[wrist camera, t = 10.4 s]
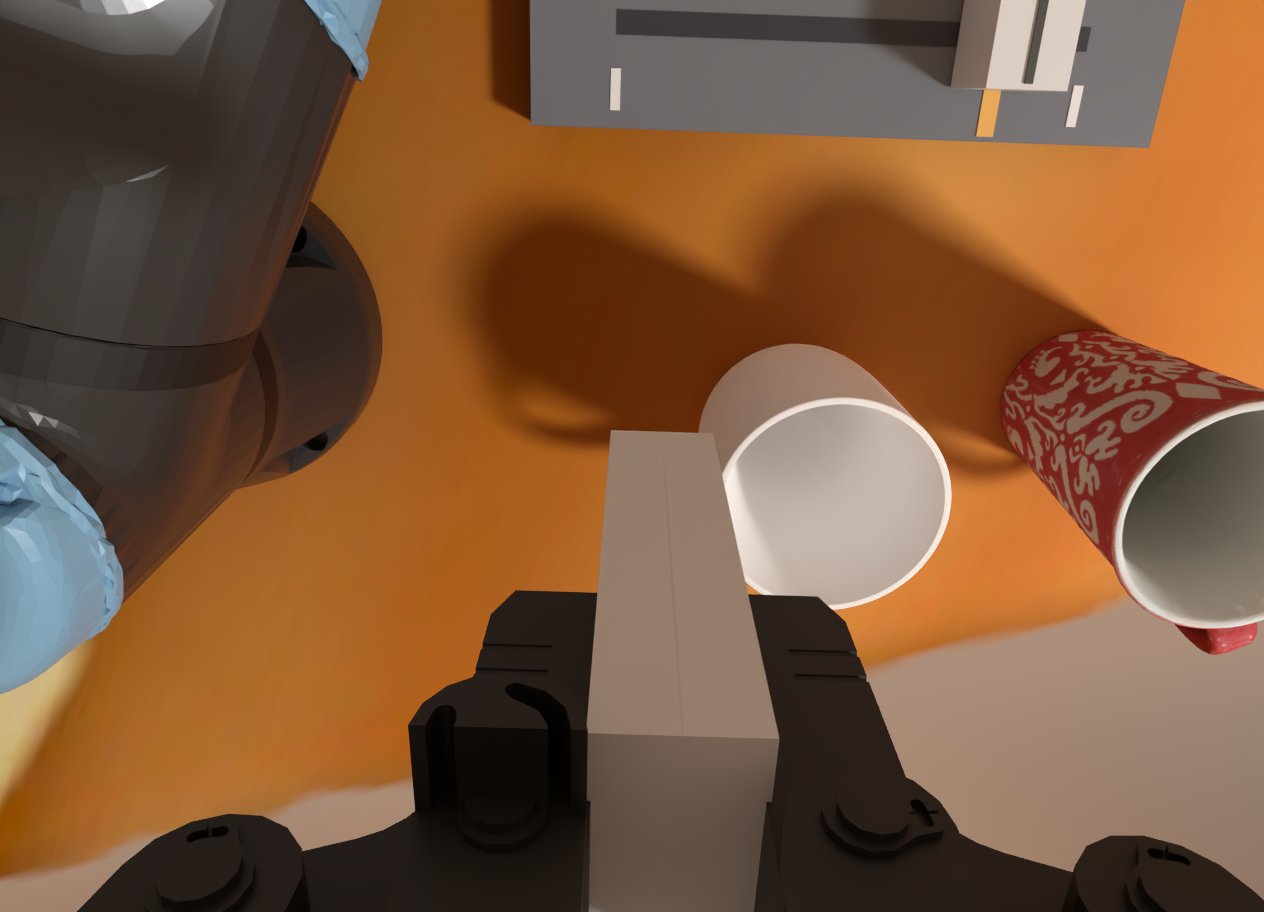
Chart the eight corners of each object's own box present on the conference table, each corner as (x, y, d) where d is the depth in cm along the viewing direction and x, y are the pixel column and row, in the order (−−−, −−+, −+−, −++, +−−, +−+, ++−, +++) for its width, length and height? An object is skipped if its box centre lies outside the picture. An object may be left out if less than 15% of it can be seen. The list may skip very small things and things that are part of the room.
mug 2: (962, 344, 42) (1097, 449, 30) (1154, 282, 41) (1378, 365, 29) (1008, 561, 47) (1142, 731, 34) (1183, 511, 46) (1387, 668, 33)
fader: (950, 88, 36) (986, 88, 32) (968, -23, 34) (1008, -37, 31) (1023, 91, 36) (1068, 91, 32) (1044, -20, 34) (1094, -33, 31)
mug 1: (807, 275, 41) (876, 350, 30) (900, 416, 44) (993, 532, 33) (607, 414, 44) (603, 530, 33) (707, 538, 47) (734, 683, 36)
